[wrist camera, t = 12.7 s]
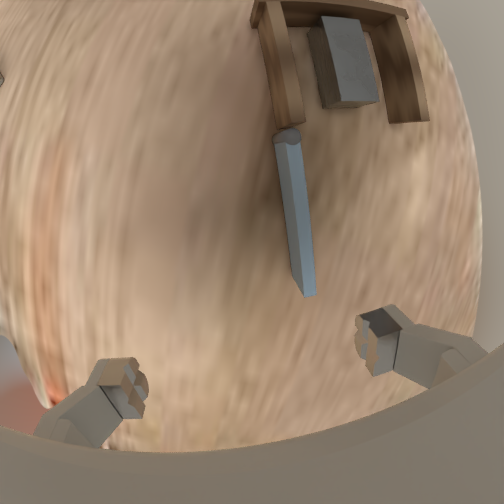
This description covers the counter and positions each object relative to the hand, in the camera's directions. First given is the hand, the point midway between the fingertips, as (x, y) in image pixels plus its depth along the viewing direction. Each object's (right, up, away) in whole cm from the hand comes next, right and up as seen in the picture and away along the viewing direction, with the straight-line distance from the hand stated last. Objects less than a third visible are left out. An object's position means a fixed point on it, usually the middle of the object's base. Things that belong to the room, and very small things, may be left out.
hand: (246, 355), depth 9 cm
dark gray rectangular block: (+9, +23, +14) cm, 28 cm away
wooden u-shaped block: (+9, +22, +14) cm, 28 cm away
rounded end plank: (+4, +8, +19) cm, 21 cm away
